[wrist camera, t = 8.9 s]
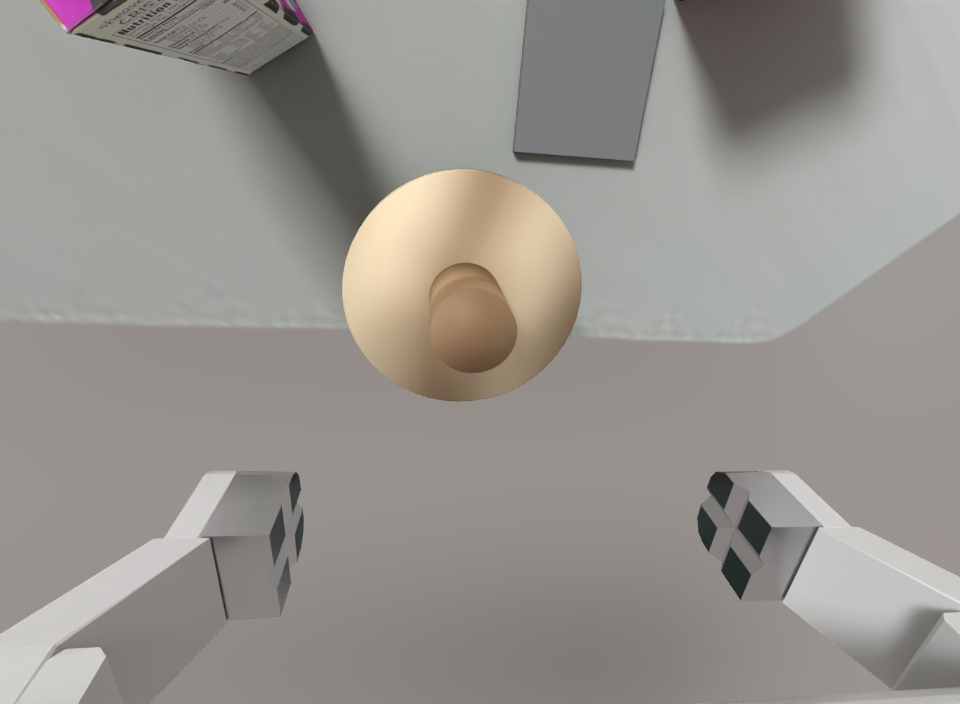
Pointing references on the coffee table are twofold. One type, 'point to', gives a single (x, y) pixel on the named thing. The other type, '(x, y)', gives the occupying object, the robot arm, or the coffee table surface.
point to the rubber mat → (585, 76)
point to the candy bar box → (190, 28)
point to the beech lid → (461, 285)
